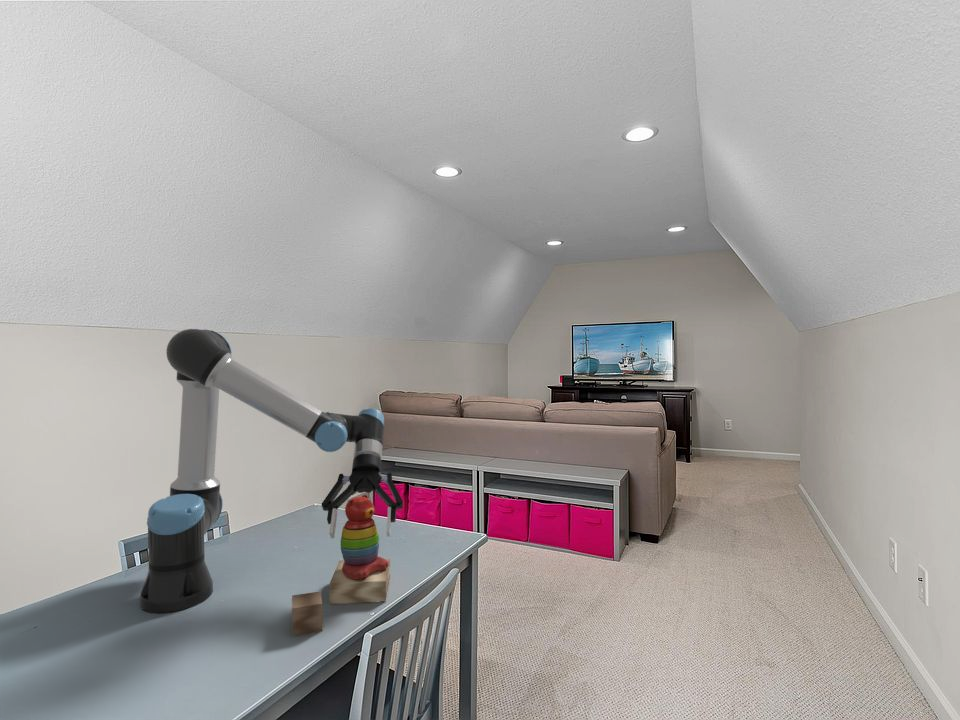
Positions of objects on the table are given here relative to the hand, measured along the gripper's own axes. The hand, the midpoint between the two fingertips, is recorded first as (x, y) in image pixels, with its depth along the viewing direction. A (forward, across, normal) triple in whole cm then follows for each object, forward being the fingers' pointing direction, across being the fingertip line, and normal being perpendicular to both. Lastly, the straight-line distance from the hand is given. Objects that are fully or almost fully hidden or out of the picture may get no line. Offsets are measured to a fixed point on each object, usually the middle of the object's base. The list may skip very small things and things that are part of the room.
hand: (360, 535), depth 128 cm
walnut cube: (+20, +10, -1) cm, 22 cm away
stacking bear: (+5, 0, -8) cm, 10 cm away
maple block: (+9, 0, -12) cm, 15 cm away
